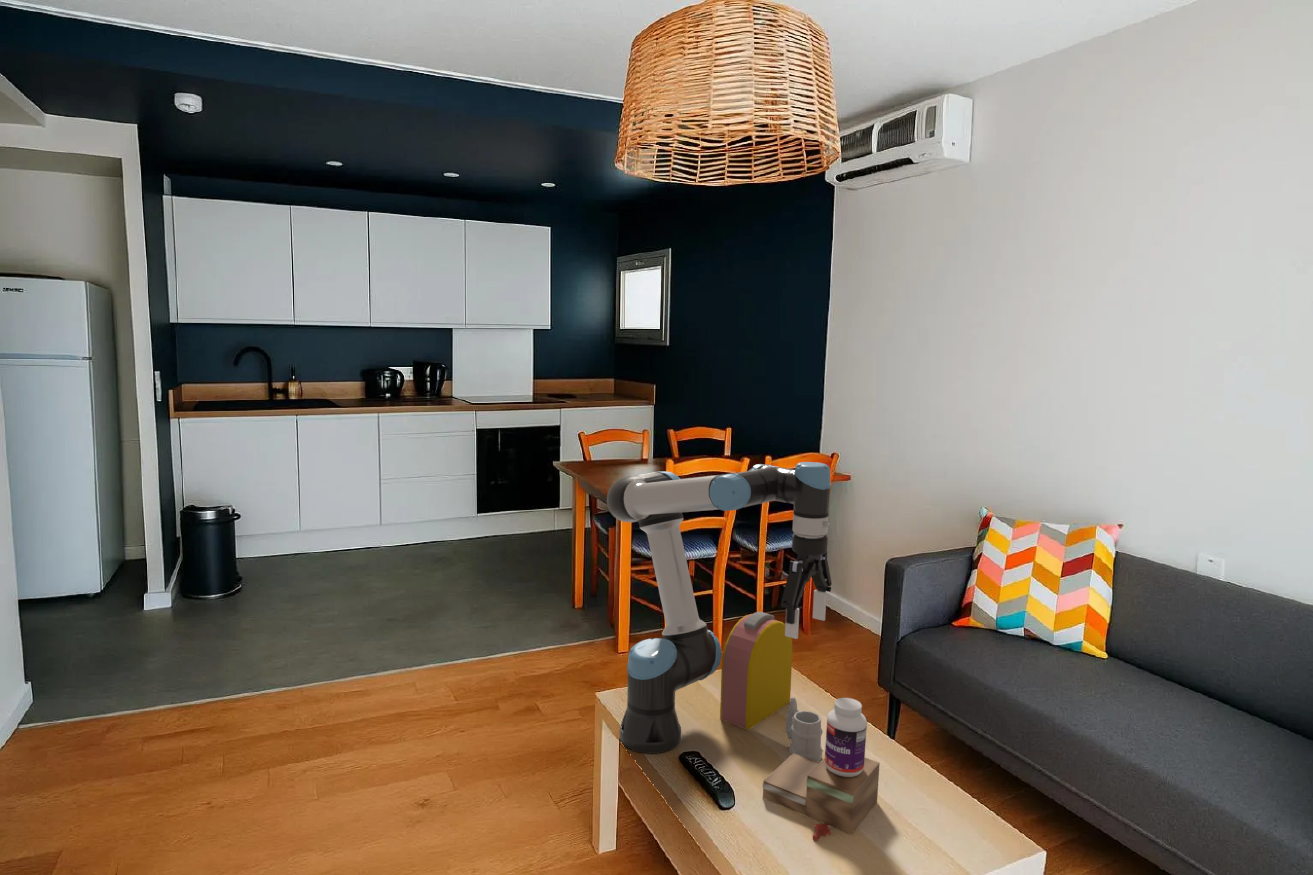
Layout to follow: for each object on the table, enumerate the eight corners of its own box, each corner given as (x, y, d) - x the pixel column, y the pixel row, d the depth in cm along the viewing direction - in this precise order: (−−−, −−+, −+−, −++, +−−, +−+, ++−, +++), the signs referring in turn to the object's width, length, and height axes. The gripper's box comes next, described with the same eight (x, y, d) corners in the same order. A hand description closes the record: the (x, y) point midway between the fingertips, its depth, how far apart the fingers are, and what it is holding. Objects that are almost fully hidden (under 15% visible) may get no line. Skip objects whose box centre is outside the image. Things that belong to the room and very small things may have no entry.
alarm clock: (762, 690, 218) (766, 599, 215) (791, 701, 212) (795, 607, 209) (718, 718, 202) (721, 620, 199) (748, 730, 197) (752, 629, 193)
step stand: (748, 811, 163) (750, 771, 162) (792, 769, 179) (794, 732, 178) (838, 850, 151) (841, 807, 150) (877, 801, 167) (879, 762, 166)
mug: (801, 768, 180) (804, 719, 178) (772, 743, 190) (774, 696, 189) (828, 760, 183) (831, 712, 181) (798, 737, 194) (800, 691, 192)
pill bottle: (816, 767, 164) (819, 702, 162) (839, 754, 169) (842, 691, 167) (849, 784, 158) (853, 717, 156) (871, 770, 163) (875, 704, 161)
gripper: (800, 549, 157) (795, 649, 160) (849, 526, 177) (844, 615, 180) (766, 542, 162) (763, 640, 165) (818, 520, 182) (814, 608, 185)
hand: (805, 627), depth 172 cm, fingers open, 13 cm apart
